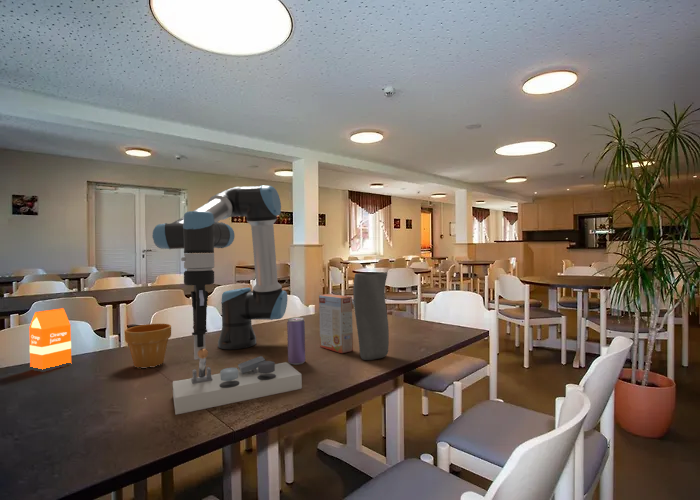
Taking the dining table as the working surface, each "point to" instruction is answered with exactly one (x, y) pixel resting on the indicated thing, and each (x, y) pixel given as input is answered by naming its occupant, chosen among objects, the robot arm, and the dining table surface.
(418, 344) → the dining table surface
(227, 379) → the button
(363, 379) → the dining table surface
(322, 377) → the dining table surface
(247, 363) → the block
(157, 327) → the flower pot
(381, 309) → the vase
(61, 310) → the orange juice
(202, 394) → the console
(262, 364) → the button
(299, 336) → the beverage can
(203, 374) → the lever
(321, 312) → the cracker box
